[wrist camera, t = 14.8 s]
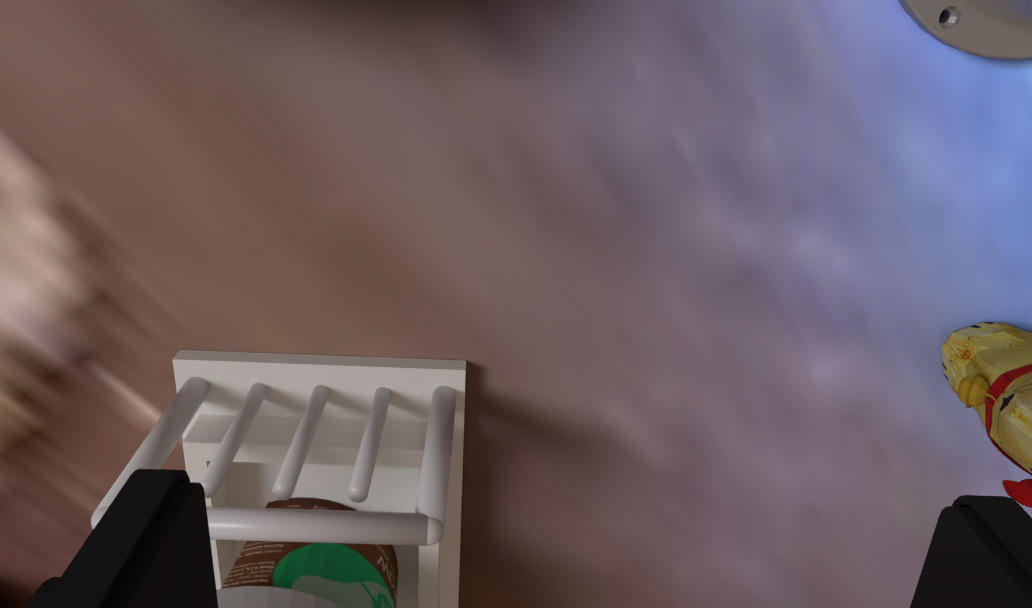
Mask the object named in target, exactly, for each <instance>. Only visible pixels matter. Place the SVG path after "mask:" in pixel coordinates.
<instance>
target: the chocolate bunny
mask: <svg viewBox="0 0 1032 608" xmlns="http://www.w3.org/2000/svg"><path fill="white" fill-rule="evenodd" d="M941 353H942V363H943V372H944V374H945V376H946V378H947V380H948V382H949V384H950V386H951V388H952V390H953V391H954V392H955V393H956V394H958V396H959V399H960V401H962V402H963V403H966V407H967V408H971V406H972V407H973V408H974V409H975V410H976V411H977V413H978V415H979V417H980V419H981V421H982V423H983V425H984V427H985V428H986V431H987V435H988V437H989V438H990V440H991V441H992V443H993V445H994V446H995V447H996V448H997V449H998V450H999V451H1000V452H1001V453H1002V454H1003V455H1004V456H1005V457H1007V458H1008V459H1009V460H1010V461H1011V462H1012V463H1014V464H1015V465H1017V466H1018V467H1019V468H1021V469H1022V470H1024V471H1025V472H1027V473H1029V474H1030V475H1032V333H1029V332H1026V331H1024V330H1021V329H1018V328H1015V327H1013V326H1011V325H1008V324H1002V323H989V322H981V323H978V324H975V325H972V326H969V327H966V328H963V329H960V330H956V331H954V332H953V333H952V334H951V335H950V337H949V338H948V339H947V340H946V342H945V343H944V344H943V346H942V347H941ZM1003 487H1004V489H1005V491H1006V492H1007V494H1008V495H1009V496H1010V497H1011V498H1012V499H1013V500H1015V501H1017V502H1018V503H1020V504H1022V505H1025V506H1027V507H1030V508H1032V479H1025V480H1022V481H1020V482H1016V481H1010V480H1004V481H1003Z"/></svg>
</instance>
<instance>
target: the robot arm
mask: <svg viewBox="0 0 1032 608" xmlns="http://www.w3.org/2000/svg"><path fill="white" fill-rule="evenodd" d="M898 1H899V2H900V4H901V6H902V8H903V9H904V10H905V11H906V12H907V14H908V15H909V16H910V17H911V18H912V19H913V20H914V21H915V23H916V24H917V25H918V26H919V27H920V28H921V29H922V30H924V31H925V32H927V33H928V34H930V35H931V36H932V37H934V38H935V39H937V40H938V41H940V42H941V43H943V44H945V45H948V46H950V47H953V48H955V49H958V50H960V51H963V52H966V53H969V54H974V55H979V56H983V57H987V58H994V59H1013V60H1019V59H1026V58H1032V0H898ZM942 11H944V12H945V16H944V18H943V19H942V20H941V21H940V22H939V16H940V14H941V12H942ZM24 608H218V600H217V591H216V583H215V575H214V567H213V558H212V550H211V542H210V534H209V525H208V517H207V509H206V501H205V493H204V488H203V486H202V484H201V483H198V482H190V478H189V476H188V474H187V472H186V471H184V470H164V469H137V470H135V471H134V472H133V473H132V474H131V475H130V476H129V478H128V479H127V481H126V482H125V484H124V485H123V487H122V488H121V490H120V491H119V493H118V494H117V496H116V497H115V499H114V500H113V501H112V503H111V504H110V506H109V507H108V509H107V510H106V512H105V513H104V515H103V516H102V518H101V519H100V521H99V522H98V524H97V525H96V526H95V528H94V529H93V531H92V532H91V534H90V535H89V537H88V538H87V540H86V541H85V543H84V544H83V546H82V547H81V549H80V550H79V551H78V553H77V554H76V556H75V557H74V559H73V560H72V562H71V563H70V565H69V566H68V568H67V569H66V571H65V572H64V574H63V575H62V576H61V577H52V578H51V579H49V580H47V581H45V582H44V583H43V584H42V585H41V586H40V587H39V588H38V589H37V591H36V592H35V593H34V594H33V596H32V597H31V599H30V600H29V601H28V603H27V604H26V606H25V607H24ZM910 608H1032V518H1031V517H1030V516H1029V515H1028V514H1027V513H1026V512H1025V511H1024V509H1023V508H1022V507H1021V506H1020V505H1019V504H1018V503H1017V502H1016V501H1014V500H1013V499H1012V498H1009V497H1005V496H973V495H964V496H960V497H958V498H957V499H956V500H955V501H954V503H953V505H952V506H948V507H945V508H944V509H943V510H942V511H941V514H940V516H939V519H938V522H937V525H936V528H935V531H934V534H933V537H932V541H931V544H930V547H929V550H928V553H927V556H926V559H925V562H924V566H923V569H922V572H921V575H920V578H919V581H918V584H917V587H916V591H915V594H914V597H913V600H912V603H911V606H910Z"/></svg>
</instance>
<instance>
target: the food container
mask: <svg viewBox="0 0 1032 608" xmlns="http://www.w3.org/2000/svg"><path fill="white" fill-rule="evenodd" d="M265 508H275V509H307V510H340V511H357V510H355V509H353V508H351V507H349V506H346V505H344V504H341V503H338V502H334V501H330V500H326V499H319V498H309V497H296V498H290V499H288V500H277V501H272V502H268V504H267V506H266V507H265ZM397 584H398V565H397V559H396V553H395V551H394V548H393V546H392V545H384V544H350V543H315V542H281V541H247V542H246V544H245V545H244V547H243V549H242V551H241V553H240V554H239V556H238V558H237V560H236V562H235V564H234V565H233V567H232V569H231V571H230V573H229V574H228V576H227V578H226V580H225V582H224V583H223V585H222V587H221V589H218V590H216V591H217V600H218V608H396V602H397Z"/></svg>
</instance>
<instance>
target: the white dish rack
mask: <svg viewBox="0 0 1032 608" xmlns="http://www.w3.org/2000/svg"><path fill="white" fill-rule="evenodd" d="M173 366H174V374H175V382H176V389H177V394H176V396H175V397H174V399H173V400H172V402H171V403H170V404H169V406H168V407H167V409H166V410H165V412H164V413H163V414H162V416H161V417H160V419H159V420H158V422H157V423H156V424H155V426H154V427H153V429H152V430H151V432H150V433H149V434H148V436H147V437H146V439H145V440H144V442H143V443H142V444H141V446H140V447H139V449H138V450H137V452H136V453H135V454H134V456H133V457H132V459H131V460H130V462H129V463H128V465H127V466H126V467H125V469H124V470H123V472H122V473H121V475H120V476H119V477H118V479H117V480H116V482H115V483H114V485H113V486H112V487H111V489H110V490H109V492H108V493H107V495H106V496H105V497H104V499H103V500H102V502H101V503H100V505H99V506H98V507H97V509H96V510H95V512H94V513H93V515H92V518H91V526H92V528H93V529H94V528H95V526H96V525H97V524H98V522H99V521H100V519H101V518H102V516H103V515H104V513H105V512H106V510H107V509H108V507H109V506H110V504H111V503H112V501H113V500H114V499H115V497H116V496H117V494H118V493H119V491H120V490H121V488H122V487H123V485H124V484H125V482H126V481H127V479H128V478H129V476H130V475H131V474H132V473H133V472H134V471H135V470H137V469H161V467H162V466H163V464H164V463H165V461H166V460H167V458H168V456H169V455H170V453H171V452H172V450H173V448H174V447H175V445H176V444H177V442H178V441H179V439H180V437H181V436H183V450H184V457H185V465H186V472H187V474H188V476H189V478H190V482H198V483H201V484H202V486H203V488H204V493H205V501H206V509H207V517H208V525H209V534H210V542H211V550H212V558H213V567H214V575H215V583H216V590H218V589H221V587H222V585H223V583H224V582H225V580H226V578H227V576H228V574H229V573H230V571H231V569H232V567H233V565H234V564H235V562H236V560H237V558H238V556H239V554H240V553H241V551H242V549H243V547H244V545H245V544H246V542H247V541H281V542H315V543H350V544H384V545H392V546H393V548H394V551H395V553H396V559H397V565H398V584H397V602H396V608H458V605H459V574H460V542H461V511H462V479H463V447H464V416H465V384H466V361H465V360H439V359H412V358H385V357H359V356H332V355H306V354H279V353H252V352H226V351H199V350H179V352H178V353H177V354H176V356H175V357H174V358H173ZM296 497H309V498H319V499H326V500H330V501H334V502H338V503H341V504H344V505H346V506H349V507H351V508H353V509H355V510H357V511H340V510H307V509H275V508H265V507H266V506H267V504H268V502H272V501H277V500H288V499H290V498H296Z"/></svg>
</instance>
